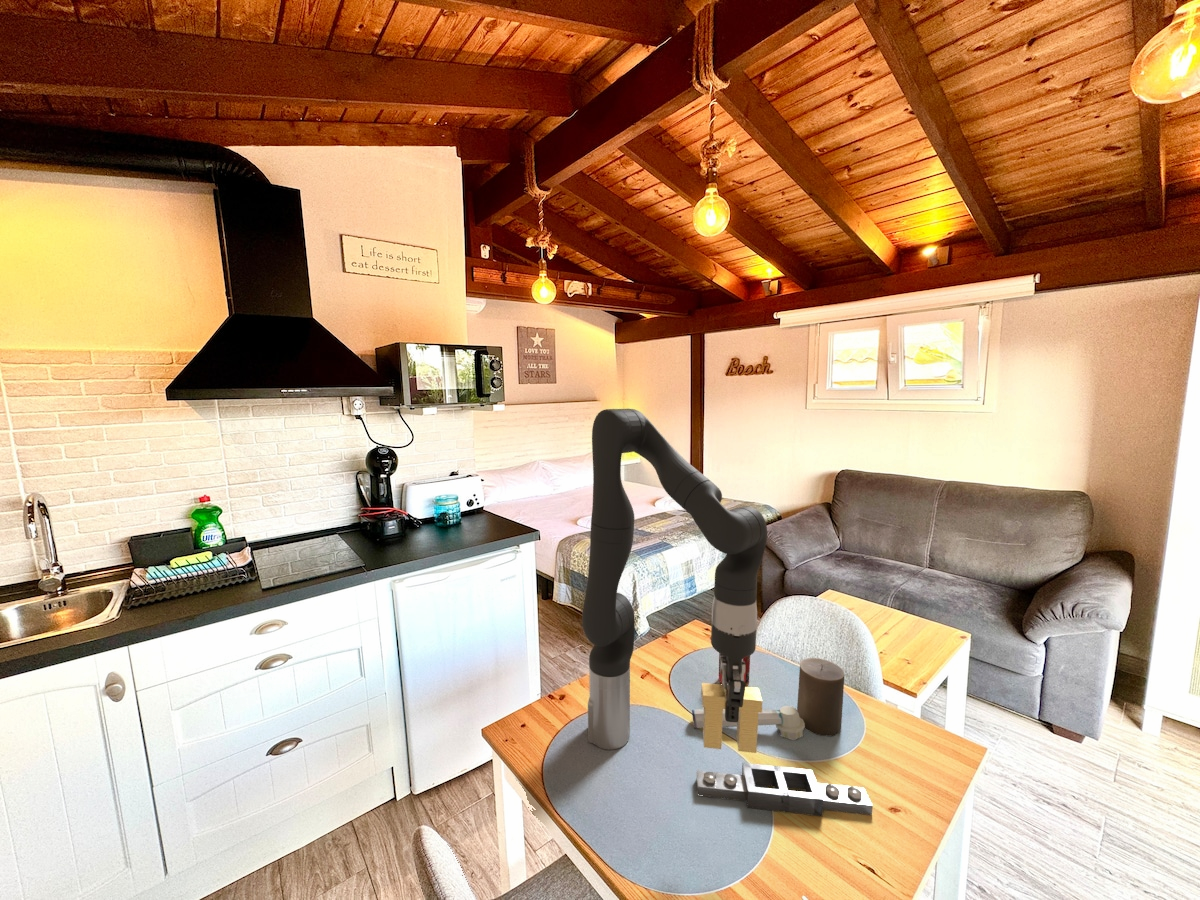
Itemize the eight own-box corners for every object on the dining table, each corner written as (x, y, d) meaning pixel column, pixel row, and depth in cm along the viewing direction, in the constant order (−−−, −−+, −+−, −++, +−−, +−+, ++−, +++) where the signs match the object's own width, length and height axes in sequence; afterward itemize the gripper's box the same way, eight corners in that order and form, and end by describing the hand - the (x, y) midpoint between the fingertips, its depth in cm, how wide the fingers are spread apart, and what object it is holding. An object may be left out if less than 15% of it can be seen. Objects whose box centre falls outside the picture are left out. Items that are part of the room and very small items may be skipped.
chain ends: (698, 802, 91) (698, 786, 91) (696, 773, 98) (696, 758, 98) (875, 822, 87) (876, 805, 86) (860, 790, 94) (861, 774, 93)
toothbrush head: (691, 703, 114) (798, 698, 111) (694, 728, 115) (801, 724, 111) (692, 718, 109) (805, 713, 106) (696, 744, 110) (808, 740, 106)
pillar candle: (836, 743, 106) (840, 680, 104) (791, 724, 112) (794, 665, 110) (844, 719, 114) (849, 661, 112) (802, 703, 120) (805, 647, 118)
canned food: (752, 691, 124) (754, 652, 123) (722, 691, 124) (723, 652, 123) (744, 674, 132) (745, 637, 131) (715, 674, 132) (716, 637, 131)
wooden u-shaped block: (701, 748, 84) (703, 695, 83) (699, 733, 87) (701, 682, 86) (759, 754, 83) (762, 700, 81) (755, 739, 86) (758, 687, 85)
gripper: (708, 601, 89) (705, 686, 92) (715, 641, 75) (712, 739, 78) (749, 604, 88) (745, 689, 91) (764, 645, 74) (759, 744, 77)
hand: (730, 712), depth 84 cm, fingers closed on wooden u-shaped block, 3 cm apart
